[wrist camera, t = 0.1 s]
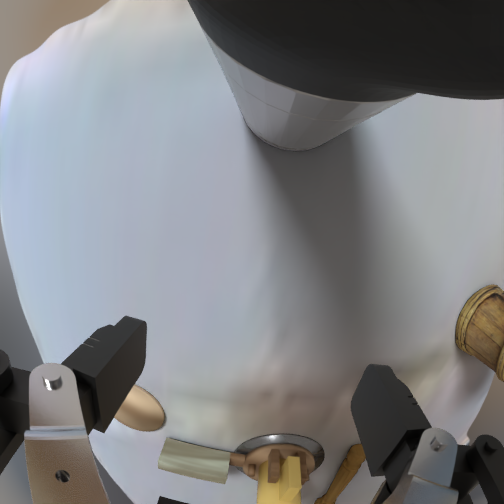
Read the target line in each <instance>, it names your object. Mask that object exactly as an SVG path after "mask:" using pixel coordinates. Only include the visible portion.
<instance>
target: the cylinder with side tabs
mask: <svg viewBox="0 0 504 504" xmlns="http://www.w3.org/2000/svg"><path fill="white" fill-rule="evenodd" d="M279 468H280V477H279V479H278V480H277V482H276V483H268V460H267V461H265V462H263V463H262V464H260V466H259V471H258V488H257V504H301V491H300V489H301V488H302V486H301V471H300V457H293V456H288V457H287V459H279Z"/></svg>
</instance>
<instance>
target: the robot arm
mask: <svg viewBox="0 0 504 504" xmlns="http://www.w3.org/2000/svg"><path fill="white" fill-rule="evenodd" d="M188 2H189V4H190V6H191V8H192V10H193V12H194V14H195V16H196V18H197V19H198V21H199V23H200V26H201V28H202V30H203V32H204V34H205V36H206V38H207V40H208V42H209V44H210V46H211V48H212V50H213V52H214V54H215V56H216V58H217V60H218V62H219V64H220V66H221V68H222V71H223V73H224V75H225V77H226V79H227V82H228V84H229V86H230V88H231V90H232V93H233V95H234V97H235V99H236V101H237V104H238V106H239V108H240V111H241V113H242V115H243V117H244V119H245V121H246V123H247V125H248V126H249V128H250V129H251V130H252V132H253V133H254V134H255V135H256V136H258V137H259V138H260V139H261V140H262V141H264V142H266V143H268V144H269V145H271V146H273V147H277V148H280V149H283V150H290V151H302V150H309V149H312V148H316V147H318V146H320V145H322V144H324V143H325V142H327V141H329V140H331V139H333V138H335V137H337V136H338V135H340V134H342V133H344V132H345V131H347V130H349V129H351V128H353V127H354V126H356V125H358V124H360V123H362V122H364V121H365V120H367V119H369V118H371V117H373V116H375V115H377V114H378V113H380V112H382V111H384V110H385V109H387V108H389V107H391V106H393V105H395V104H397V103H399V102H401V101H403V100H405V99H407V98H409V97H411V96H412V95H414V94H416V93H422V94H429V95H435V96H442V97H449V98H459V99H473V100H490V99H504V0H188ZM146 334H147V324H146V322H145V321H143V320H139V319H136V318H132V317H129V316H124V317H123V318H122V319H121V320H120V321H119V322H118V323H117V324H116V325H115V326H113V325H107V326H105V327H102V328H100V329H97V330H96V331H95V332H94V333H93V334H92V335H91V336H90V338H88V339H87V340H86V341H84V343H83V344H81V345H80V346H79V347H78V348H77V349H76V350H75V351H74V352H73V353H72V354H71V355H70V356H69V357H68V358H66V359H65V360H64V361H63V362H62V363H61V364H57V363H46V364H42V365H39V366H37V367H36V368H35V369H34V370H32V372H29V371H25V370H21V369H17V368H14V367H11V364H10V360H9V357H8V355H7V354H6V353H5V352H4V351H2V350H0V474H1V473H2V471H3V470H4V468H5V467H6V465H7V464H8V462H9V461H10V459H11V458H12V456H13V455H14V454H15V452H16V451H17V449H18V448H19V446H20V445H21V444H22V442H23V441H24V442H25V453H26V463H27V470H28V477H29V484H30V489H31V495H32V500H33V504H111V503H110V501H109V498H108V496H107V493H106V491H105V488H104V485H103V482H102V480H101V477H100V474H99V471H98V468H97V465H96V462H95V458H94V455H93V452H92V448H91V445H90V441H89V437H88V435H89V434H90V432H91V431H92V429H95V430H98V431H100V432H102V433H105V431H106V429H107V428H108V426H109V424H110V423H111V421H112V420H113V418H114V416H115V415H116V413H117V411H118V410H119V408H120V407H121V405H122V403H123V402H124V400H125V399H126V397H127V395H128V394H129V392H130V391H131V389H132V387H133V386H134V384H135V383H136V381H137V379H138V378H139V376H140V375H141V373H142V371H143V368H144V365H145V359H146ZM351 412H352V416H353V419H354V422H355V425H356V428H357V431H358V434H359V437H360V440H361V444H362V447H363V450H364V453H365V457H366V460H367V463H368V466H369V470H370V473H371V477H374V476H384V475H385V478H386V480H385V481H384V482H383V483H382V484H381V486H380V488H379V490H378V491H377V493H376V495H375V497H374V498H373V500H372V502H371V504H473V502H472V500H471V497H470V495H469V493H470V492H471V491H472V490H473V489H474V488H475V487H476V486H477V485H478V484H480V486H481V488H482V490H483V492H484V494H485V497H486V499H487V501H488V504H504V447H503V446H502V444H501V443H500V441H499V440H497V439H496V438H494V437H493V436H490V435H480V436H479V437H477V439H476V440H475V441H474V443H473V444H472V445H471V446H467V445H458V444H457V442H456V440H455V438H454V437H453V436H452V435H451V434H450V433H448V432H447V431H445V430H443V429H439V428H432V427H431V425H430V423H429V422H428V420H427V418H426V416H425V415H424V413H423V411H422V410H421V408H420V406H419V405H417V401H416V400H415V398H413V395H412V393H411V392H410V390H409V388H408V387H407V386H406V385H405V384H404V383H402V382H401V381H400V380H399V379H397V377H396V376H395V374H394V372H393V371H392V369H391V368H390V366H386V365H374V364H370V365H368V366H367V368H366V370H365V372H364V374H363V376H362V378H361V380H360V383H359V385H358V387H357V389H356V391H355V393H354V395H353V398H352V401H351ZM157 504H188V503H184V502H180V501H176V500H172V499H168V498H165V497H161V496H160V497H159V500H158V503H157Z"/></svg>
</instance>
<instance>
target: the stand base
mask: <svg viewBox="0 0 504 504" xmlns="http://www.w3.org/2000/svg"><path fill="white" fill-rule="evenodd" d="M270 444H292V445H298V446H301V447H303V448H306V449H307V450H309V451H310V452H311V453H312V454H313V456H314V462H315V467H314V469H313V471H314V470H316V469H317V468H318V467H319V466H320V465H321V464H322V462H323V460H324V450H323V448H322V447H321V445H320V444H318V443H317V442H316V441H314V440H312V439H310V438H307V437H304V436H300V435H293V434H271V435H264V436H259V437H256V438H253V439H250V440H248V441H246V442H244V443H242V444H241V445H240V446H239V447H238V448H237V449H236V450H235V452H234V453H237V454H243V455H246V454H247V453H249V452H250V451H252V450H253V449H255V448H258V447H261V446H265V445H270ZM236 467H237V468H238V469H239V470H240V471H241V472H243V473H244V474H245V472H244V471H243V467H239V466H236ZM313 471H312V472H313Z"/></svg>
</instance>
